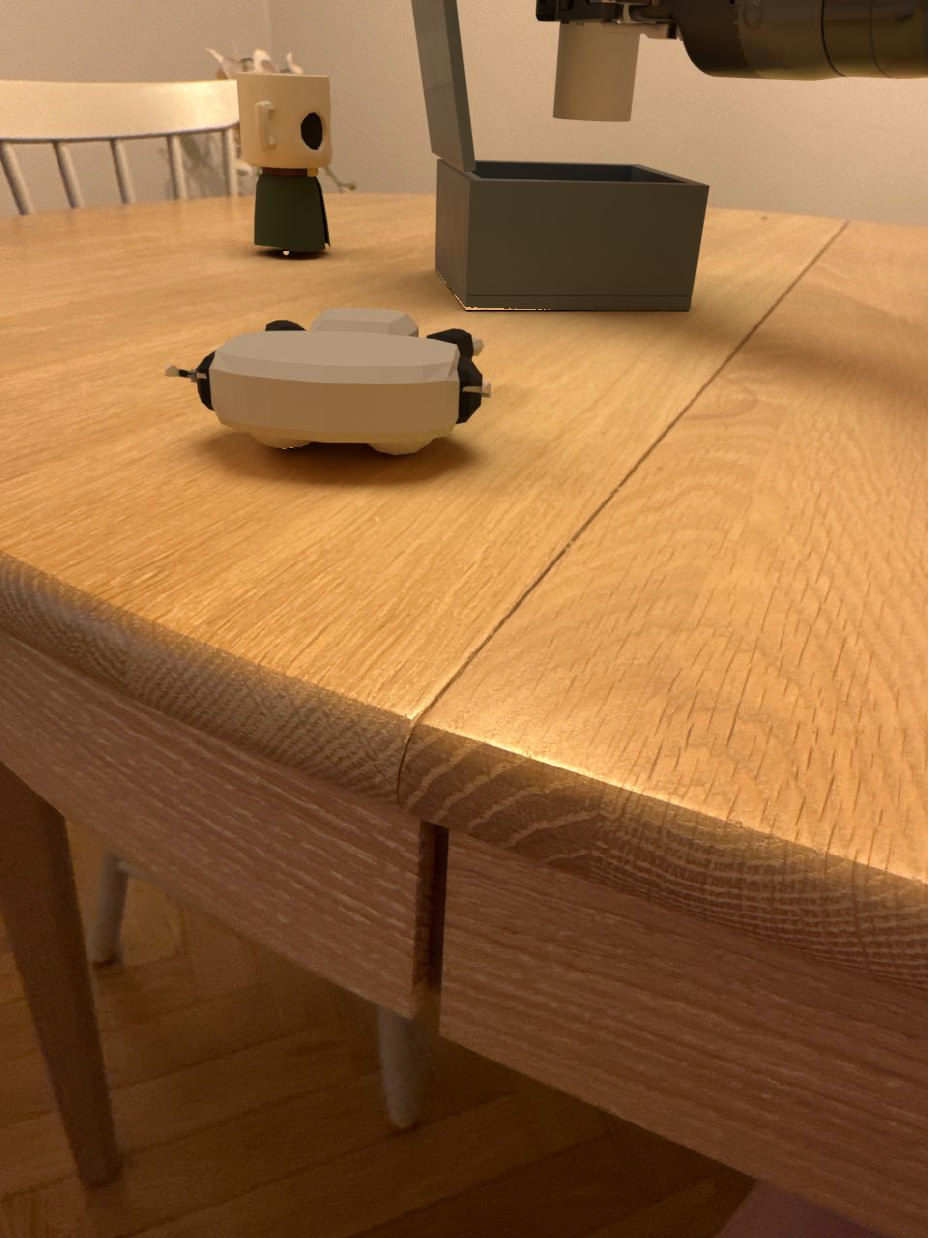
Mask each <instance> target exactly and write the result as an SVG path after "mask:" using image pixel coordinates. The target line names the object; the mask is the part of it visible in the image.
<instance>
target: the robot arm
mask: <svg viewBox="0 0 928 1238" xmlns="http://www.w3.org/2000/svg"><path fill="white" fill-rule="evenodd" d="M624 5H629V6H628V13H629V16H630V18H631V20H633V21H635V22H641V23H626V22H625V21H624V18H623V11H624ZM535 18H536V20H537V22H543V23H544V22H545V23H560V22H561V24H569V22H571V23H576V26H584V23H598V24H601V25H602V27H603V29H604V31H605V32H608V33H616V34H640V35H645V36H646V37H647V38H648V39H651V40H663V41H664V40H665V41H668V40H669V41H678V39H679V41H680V42H682V43H683V46H684V49H685V52H686V54H687V56H688V58H689V59H690V61H691V63H692V64H693V65H694V67H696V68H697V69H698V70H699V71H700V72H702V73H703V74H705V75H706V76H709V77H712V78H714V77H715V78H730V79H750V80H751V79H753V80H775V81H776V80H777V81H802V82H803V81H804V82H813V81H814V82H815V81H823V80H824V81H825V80H832V79H839V78H867V79H868V78H869V79H871V78H874V79H893V80H894V79H895V80H913V79H914V80H915V79H928V0H535Z"/></svg>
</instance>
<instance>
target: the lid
mask: <svg viewBox="0 0 928 1238" xmlns="http://www.w3.org/2000/svg"><path fill="white" fill-rule="evenodd" d="M410 3H411V10H412V18H413V24H414V33H415V40H416V48H417V55H418V61H419V68H420V69H419V70H420V74H421V75H420V77H421V83H422V90H423V98H424V104H425V113H426V120H427V126H428V134H429V142H430V149H431V153H432V154H433V155H436V156H437V157H439V159H443V160H445V161H447V162H448V163H450V164H452V165H453V166H455V167H456V168H458V169H460V170H461V171H463V172H471V171H475V170H476V164H475V160H476V156H475V155H476V154H475V148H474V139H473V131H472V130H473V129H472V121H471V114H470V113H471V112H470V106H469V105H470V103H469V95H468V87H467V78H466V70H465V69H466V68H465V62H464V61H465V60H464V53H463V43H462V36H461V34H462V33H461V27H460V18H459V10H458V2H457V0H410Z"/></svg>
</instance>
